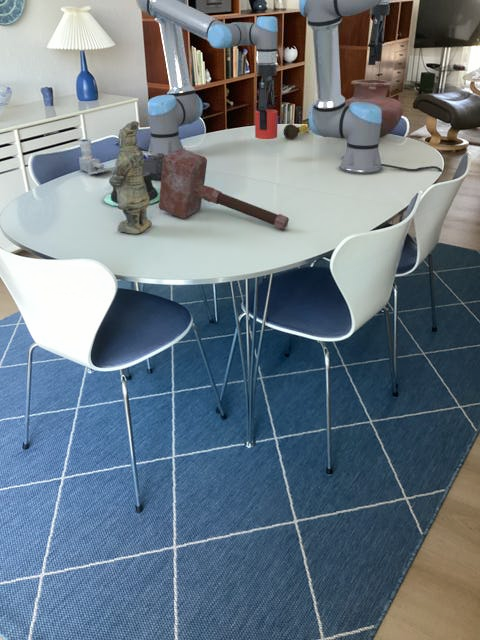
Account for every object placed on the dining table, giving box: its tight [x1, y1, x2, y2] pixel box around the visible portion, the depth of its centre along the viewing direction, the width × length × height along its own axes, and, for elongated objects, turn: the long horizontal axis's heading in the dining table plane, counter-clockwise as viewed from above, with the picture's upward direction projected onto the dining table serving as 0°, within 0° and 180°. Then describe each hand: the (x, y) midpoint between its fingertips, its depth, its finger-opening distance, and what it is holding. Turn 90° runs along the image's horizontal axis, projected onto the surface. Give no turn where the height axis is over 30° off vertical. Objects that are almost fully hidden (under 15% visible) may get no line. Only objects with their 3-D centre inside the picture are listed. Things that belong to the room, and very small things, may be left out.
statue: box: [108, 120, 153, 235], centre depth 154 cm, size 11×9×30 cm
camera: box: [78, 138, 115, 176], centre depth 211 cm, size 9×12×15 cm
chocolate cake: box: [103, 169, 160, 207], centre depth 186 cm, size 15×19×20 cm
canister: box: [254, 108, 279, 140], centre depth 217 cm, size 9×9×10 cm
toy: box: [142, 151, 165, 181], centre depth 205 cm, size 9×9×15 cm
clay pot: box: [345, 78, 404, 139], centre depth 247 cm, size 30×30×25 cm
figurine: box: [282, 120, 312, 140], centre depth 263 cm, size 13×8×25 cm
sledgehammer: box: [158, 149, 290, 231], centre depth 163 cm, size 17×10×40 cm
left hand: (266, 126), depth 218 cm, fingers closed on canister, 9 cm apart
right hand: (374, 63), depth 229 cm, fingers open, 13 cm apart
